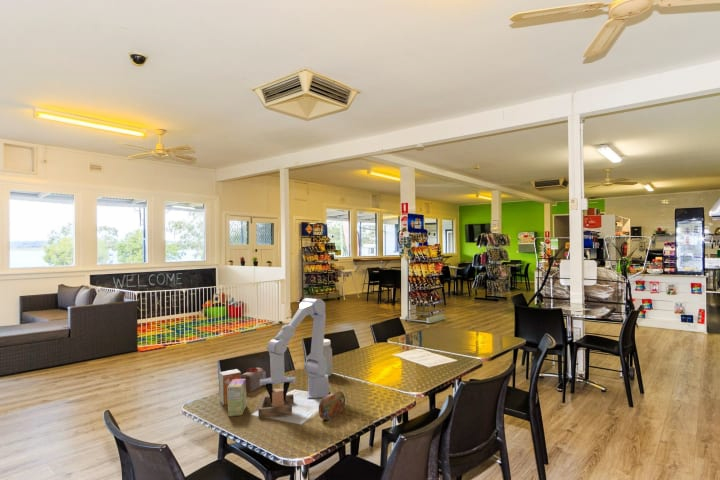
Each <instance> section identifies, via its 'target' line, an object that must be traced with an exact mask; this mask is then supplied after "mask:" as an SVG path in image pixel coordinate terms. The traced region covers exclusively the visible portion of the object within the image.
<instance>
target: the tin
mask: <svg viewBox="0 0 720 480" xmlns="http://www.w3.org/2000/svg"><path fill="white" fill-rule="evenodd" d="M345 403H346V398H345V394H344V393H343V391H337V390H335V391H333V392H331V393H330V394H329V395H328V396H326V397H322V398H321V400H320V401H319V404H318V415H319V417H320V418H321V419H322V420H326V421H330V420H332V419H333V418H335V417H336V416H338V415H339V414H340V413H342V412H343V410H344V409H345Z"/></svg>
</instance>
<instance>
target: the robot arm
mask: <svg viewBox="0 0 720 480" xmlns="http://www.w3.org/2000/svg"><path fill="white" fill-rule="evenodd" d="M298 305H299V308H298V309H297V311H296V312H295V314H294V315H293V317H292V318H291V320H290V322H289V323H288V324H284V325H282V326H281V329H280V331H279V332H278V333H277V334H276V335H275V337H274V338H272V339H271V340H269V342H268V343H267V346H266V350H267V352H268V354H269V355H268V356H269V363H270V365H269V367H270V368H269V369H270V377H268V378H267V377H266V379H260V385H261V386H263V385H265V389H266V391H267V393H268V396H270V399H271V402H272V391H273V389H274V388H273V387H274V386H273V385H279V384H282V385H283V386H282V388H283V389H284V401H285V400H286V395H288V393H287V392H288V390H289V388H290V385H291V384H296V376H285V375H286V374H285V352H286V351H287V349H288V344H289V342H290V341H291V339H292V338H293V337H294V335H295V334H296V328H297V327H298V326H299V325H300V323H301V322H302V321H303V320H304V319H305V317H307V316H311V318H312V320H313V323H312V332H311V333H312V334H311V345H310V353H309V354H308V355H307V356H306V360H305V362H304V366H303V369H304V371H305V373H306V375H307V379H308V380H307V384H308V385H307V387H308V388H307V390H308V391H307V398H308V399H316V398H319V399H320V398H324V397H326V396H328V395H329V392H330V386H329V376H328V375H325V374H326V372H327V364H326V358H325V357H324V355H323V342H324V339H325V330H326V319H327V317H326V316H327V314H326V303H325V301H324V300H323V299H322V298H311V297H310V298H309V297H305V298H303V299H302V300H301V302H300V303H299V304H298Z"/></svg>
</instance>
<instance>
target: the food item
mask: <svg viewBox="0 0 720 480" xmlns="http://www.w3.org/2000/svg"><path fill="white" fill-rule="evenodd" d="M246 371H247V372H245V373H243V374H242V373H241V379H246V394H247V393H248V394H250V393H252V392H253V391H254V390H258V389H260V387H261V386H262V385H260V379H267V376H266V373H267V372H266V371H265V370H264V369H263V368H261V367H249V368H247V369H246Z"/></svg>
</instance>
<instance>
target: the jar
mask: <svg viewBox="0 0 720 480" xmlns="http://www.w3.org/2000/svg"><path fill="white" fill-rule="evenodd" d="M331 344H332V343H331V339H328V338H324V342H323V355H324V357H325V358H326V364H327V372H326V374H325V375H328V377H331V376H332V374H333V370H334V369H333V366H334V365H333V348H332V347H331V346H332V345H331Z"/></svg>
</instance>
